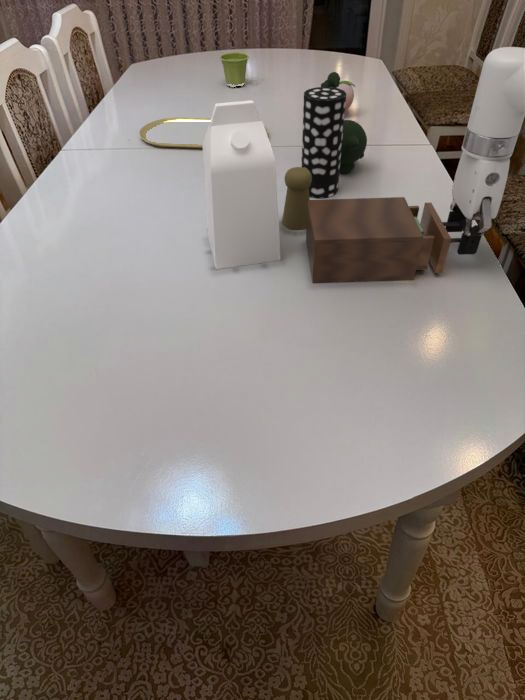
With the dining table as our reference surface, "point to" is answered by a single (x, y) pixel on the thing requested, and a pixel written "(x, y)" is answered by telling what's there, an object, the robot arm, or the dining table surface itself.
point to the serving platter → (170, 120)
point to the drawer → (434, 238)
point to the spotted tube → (323, 138)
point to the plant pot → (234, 67)
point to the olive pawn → (296, 198)
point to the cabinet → (362, 240)
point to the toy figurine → (348, 134)
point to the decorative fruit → (347, 92)
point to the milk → (240, 187)
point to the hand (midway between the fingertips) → (459, 241)
